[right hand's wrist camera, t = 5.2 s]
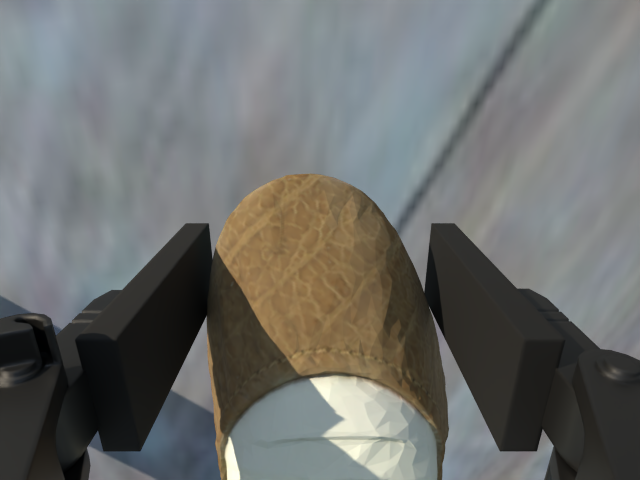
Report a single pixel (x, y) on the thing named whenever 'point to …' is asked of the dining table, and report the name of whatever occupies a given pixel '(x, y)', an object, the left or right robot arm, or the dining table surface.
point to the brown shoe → (321, 341)
